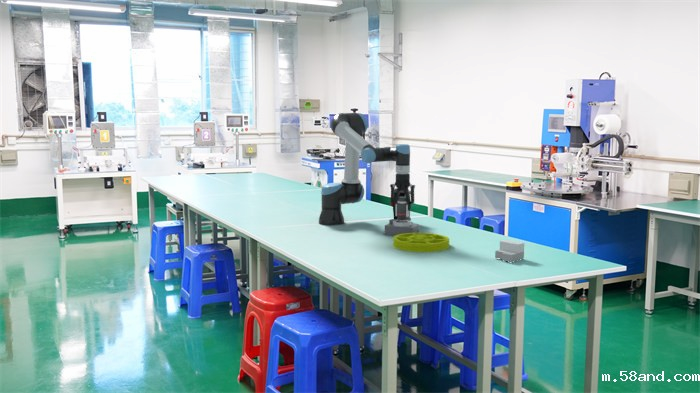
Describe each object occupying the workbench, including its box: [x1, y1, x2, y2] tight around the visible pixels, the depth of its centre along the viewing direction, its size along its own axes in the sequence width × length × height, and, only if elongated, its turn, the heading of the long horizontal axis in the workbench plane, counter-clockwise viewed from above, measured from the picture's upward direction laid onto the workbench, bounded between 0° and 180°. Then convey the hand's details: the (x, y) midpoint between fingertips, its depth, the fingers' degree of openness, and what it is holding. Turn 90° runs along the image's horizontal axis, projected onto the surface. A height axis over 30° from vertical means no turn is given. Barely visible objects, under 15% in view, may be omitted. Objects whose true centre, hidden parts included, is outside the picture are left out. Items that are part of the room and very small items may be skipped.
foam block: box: [494, 239, 525, 262], centre depth 285 cm, size 10×10×8 cm
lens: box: [397, 197, 407, 220], centre depth 339 cm, size 5×5×12 cm
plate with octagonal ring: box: [384, 218, 420, 237], centre depth 341 cm, size 16×11×7 cm
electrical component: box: [390, 187, 412, 222], centre depth 368 cm, size 18×10×20 cm, turn 168°
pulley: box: [392, 232, 450, 253], centre depth 313 cm, size 28×28×5 cm
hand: (402, 215), depth 340 cm, fingers closed on lens, 5 cm apart
